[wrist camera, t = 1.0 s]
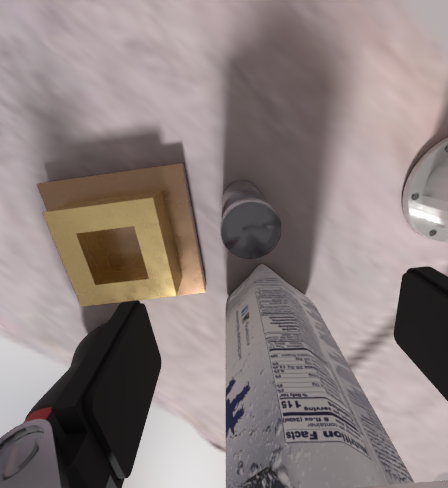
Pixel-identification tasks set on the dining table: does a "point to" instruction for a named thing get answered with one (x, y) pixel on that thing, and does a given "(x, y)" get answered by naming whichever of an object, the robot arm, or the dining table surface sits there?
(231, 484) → the juice carton
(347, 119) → the dining table surface
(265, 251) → the grey metal can
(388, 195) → the dining table surface
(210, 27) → the dining table surface
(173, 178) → the frame
